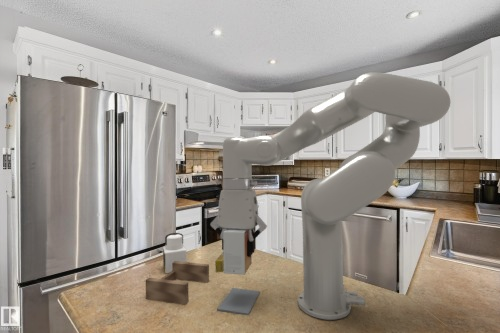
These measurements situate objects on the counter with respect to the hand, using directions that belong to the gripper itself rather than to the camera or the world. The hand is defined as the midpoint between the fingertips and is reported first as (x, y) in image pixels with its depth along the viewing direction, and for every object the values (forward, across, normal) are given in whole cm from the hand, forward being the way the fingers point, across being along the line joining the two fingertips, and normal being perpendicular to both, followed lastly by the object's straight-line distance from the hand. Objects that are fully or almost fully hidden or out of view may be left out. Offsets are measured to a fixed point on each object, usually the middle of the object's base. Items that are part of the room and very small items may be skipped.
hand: (238, 253), depth 65 cm
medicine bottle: (+13, +29, -15) cm, 35 cm away
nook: (+13, +19, -2) cm, 23 cm away
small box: (+4, 0, 0) cm, 4 cm away
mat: (+12, 0, 0) cm, 12 cm away
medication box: (+13, +13, -22) cm, 29 cm away
